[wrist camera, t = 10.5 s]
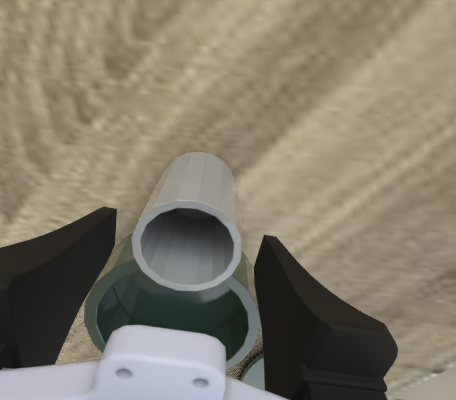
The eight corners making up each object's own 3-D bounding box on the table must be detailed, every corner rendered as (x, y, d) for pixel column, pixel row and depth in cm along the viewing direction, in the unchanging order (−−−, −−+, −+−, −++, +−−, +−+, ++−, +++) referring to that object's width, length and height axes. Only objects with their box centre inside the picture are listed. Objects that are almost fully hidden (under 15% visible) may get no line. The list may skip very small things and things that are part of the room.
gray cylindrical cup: (197, 232, 21) (187, 306, 15) (145, 184, 20) (108, 245, 13) (251, 190, 20) (264, 252, 14) (200, 135, 18) (187, 177, 12)
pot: (182, 354, 27) (175, 400, 24) (75, 281, 23) (47, 322, 20) (283, 288, 24) (294, 330, 20) (179, 190, 20) (169, 220, 16)
